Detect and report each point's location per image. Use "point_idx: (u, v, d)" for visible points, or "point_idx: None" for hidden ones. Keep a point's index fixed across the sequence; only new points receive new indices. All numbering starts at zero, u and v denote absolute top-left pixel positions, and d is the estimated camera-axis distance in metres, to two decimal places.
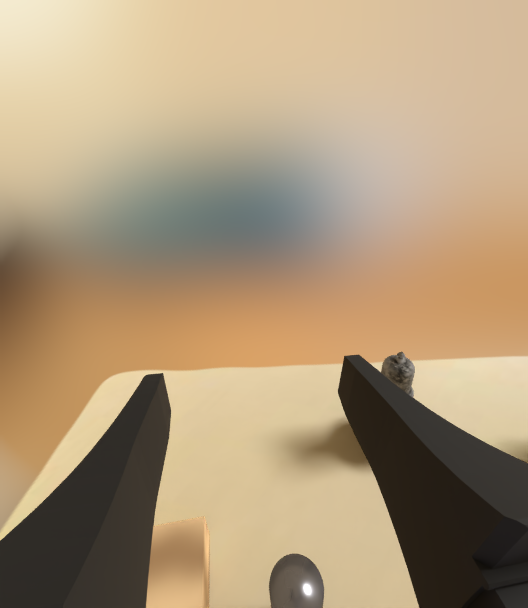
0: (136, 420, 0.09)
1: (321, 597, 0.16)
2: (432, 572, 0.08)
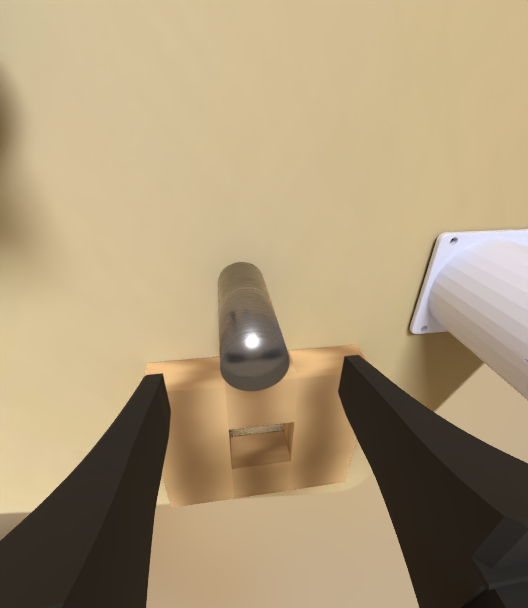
0: (136, 420, 0.09)
1: (271, 342, 0.12)
2: (432, 572, 0.08)
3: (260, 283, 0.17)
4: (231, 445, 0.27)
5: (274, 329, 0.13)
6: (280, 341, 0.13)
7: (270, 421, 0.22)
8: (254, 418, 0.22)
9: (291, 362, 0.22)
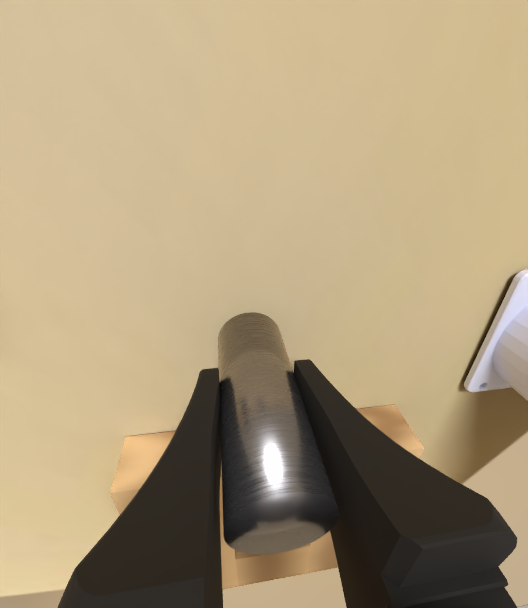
0: (207, 412, 0.09)
1: (311, 497, 0.07)
2: (357, 588, 0.07)
3: (279, 350, 0.12)
4: None
5: (312, 457, 0.08)
6: (325, 488, 0.08)
7: None
8: None
9: None
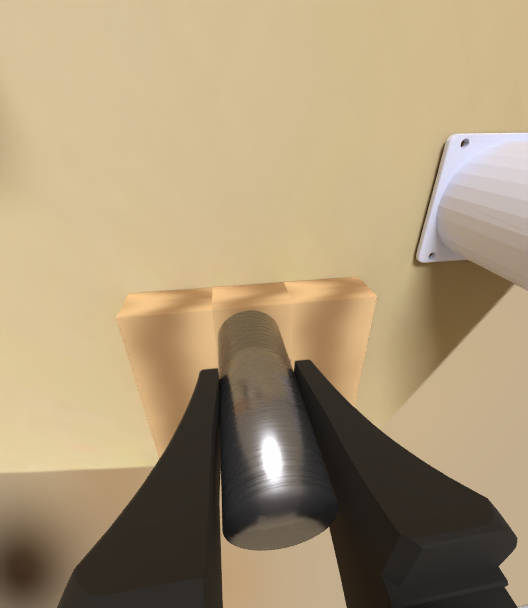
0: (206, 412, 0.09)
1: (310, 491, 0.07)
2: (357, 587, 0.07)
3: (278, 347, 0.12)
4: None
5: (311, 451, 0.08)
6: (324, 482, 0.07)
7: None
8: None
9: (286, 291, 0.20)
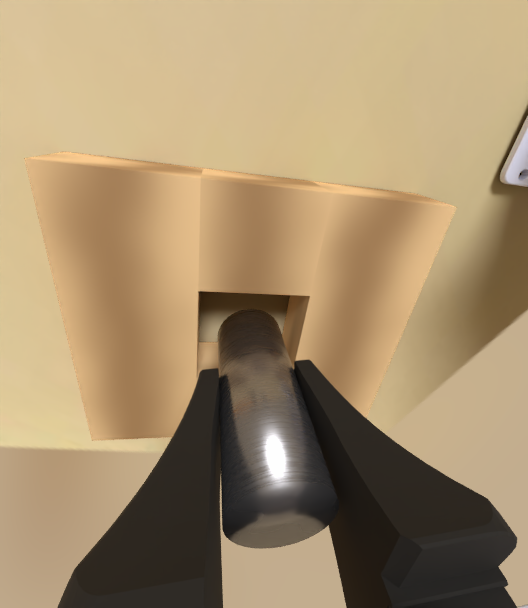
0: (207, 412, 0.09)
1: (309, 487, 0.07)
2: (357, 588, 0.07)
3: (278, 345, 0.12)
4: (199, 351, 0.17)
5: (311, 448, 0.08)
6: (324, 478, 0.07)
7: (271, 286, 0.13)
8: (245, 272, 0.13)
9: (318, 185, 0.13)
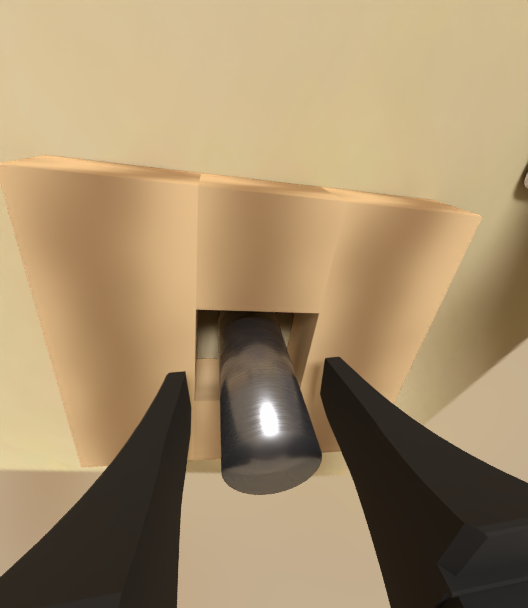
0: (165, 417, 0.09)
1: (295, 436, 0.08)
2: (403, 578, 0.08)
3: (272, 325, 0.13)
4: (198, 369, 0.16)
5: (298, 407, 0.09)
6: (308, 430, 0.09)
7: (277, 303, 0.12)
8: (248, 289, 0.11)
9: (328, 192, 0.12)
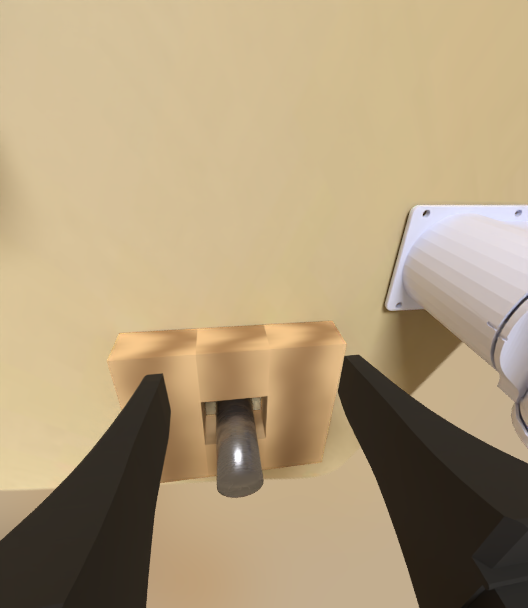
0: (136, 420, 0.09)
1: (247, 472, 0.19)
2: (432, 572, 0.08)
3: (244, 402, 0.24)
4: (206, 422, 0.26)
5: (251, 456, 0.20)
6: (254, 468, 0.19)
7: (243, 394, 0.22)
8: (226, 390, 0.22)
9: (265, 335, 0.22)
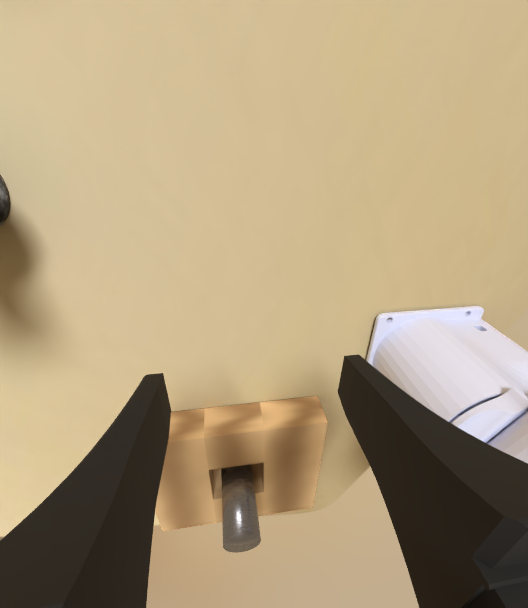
0: (136, 420, 0.09)
1: (247, 534, 0.23)
2: (432, 572, 0.08)
3: (244, 465, 0.28)
4: (213, 477, 0.31)
5: (250, 519, 0.24)
6: (253, 530, 0.24)
7: (243, 462, 0.27)
8: (229, 460, 0.26)
9: (260, 414, 0.27)
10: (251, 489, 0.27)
